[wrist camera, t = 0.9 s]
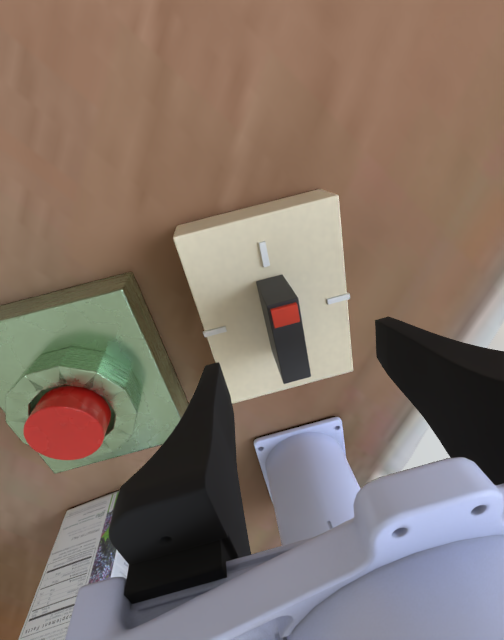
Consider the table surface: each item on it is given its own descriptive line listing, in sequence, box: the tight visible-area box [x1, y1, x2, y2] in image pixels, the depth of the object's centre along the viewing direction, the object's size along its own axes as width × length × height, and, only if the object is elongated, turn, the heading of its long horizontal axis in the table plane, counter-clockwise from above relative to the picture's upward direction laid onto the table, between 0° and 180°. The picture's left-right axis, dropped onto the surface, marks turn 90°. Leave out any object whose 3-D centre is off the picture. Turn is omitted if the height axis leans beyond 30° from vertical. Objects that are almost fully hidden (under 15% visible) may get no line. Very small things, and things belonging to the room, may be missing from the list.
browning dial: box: [256, 275, 311, 384], centre depth 18 cm, size 5×2×4 cm, turn 12°
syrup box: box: [18, 491, 129, 640], centre depth 24 cm, size 6×6×14 cm
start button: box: [23, 386, 111, 460], centre depth 18 cm, size 4×4×2 cm
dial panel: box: [173, 189, 353, 404], centre depth 21 cm, size 12×9×3 cm
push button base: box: [0, 272, 189, 473], centre depth 21 cm, size 12×10×5 cm
